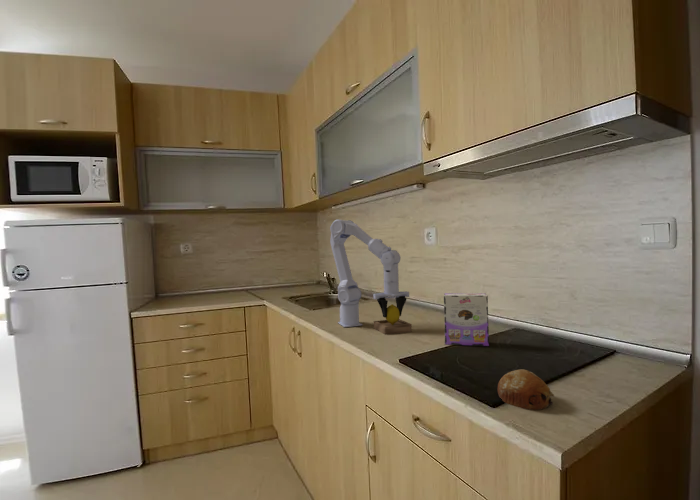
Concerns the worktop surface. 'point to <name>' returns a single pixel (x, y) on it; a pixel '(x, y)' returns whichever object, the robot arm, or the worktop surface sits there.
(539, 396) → the reddish brown rounded lump
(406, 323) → the base
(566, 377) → the worktop surface
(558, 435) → the worktop surface
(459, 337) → the candy box
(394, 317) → the lemon
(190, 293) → the worktop surface
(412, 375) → the worktop surface
